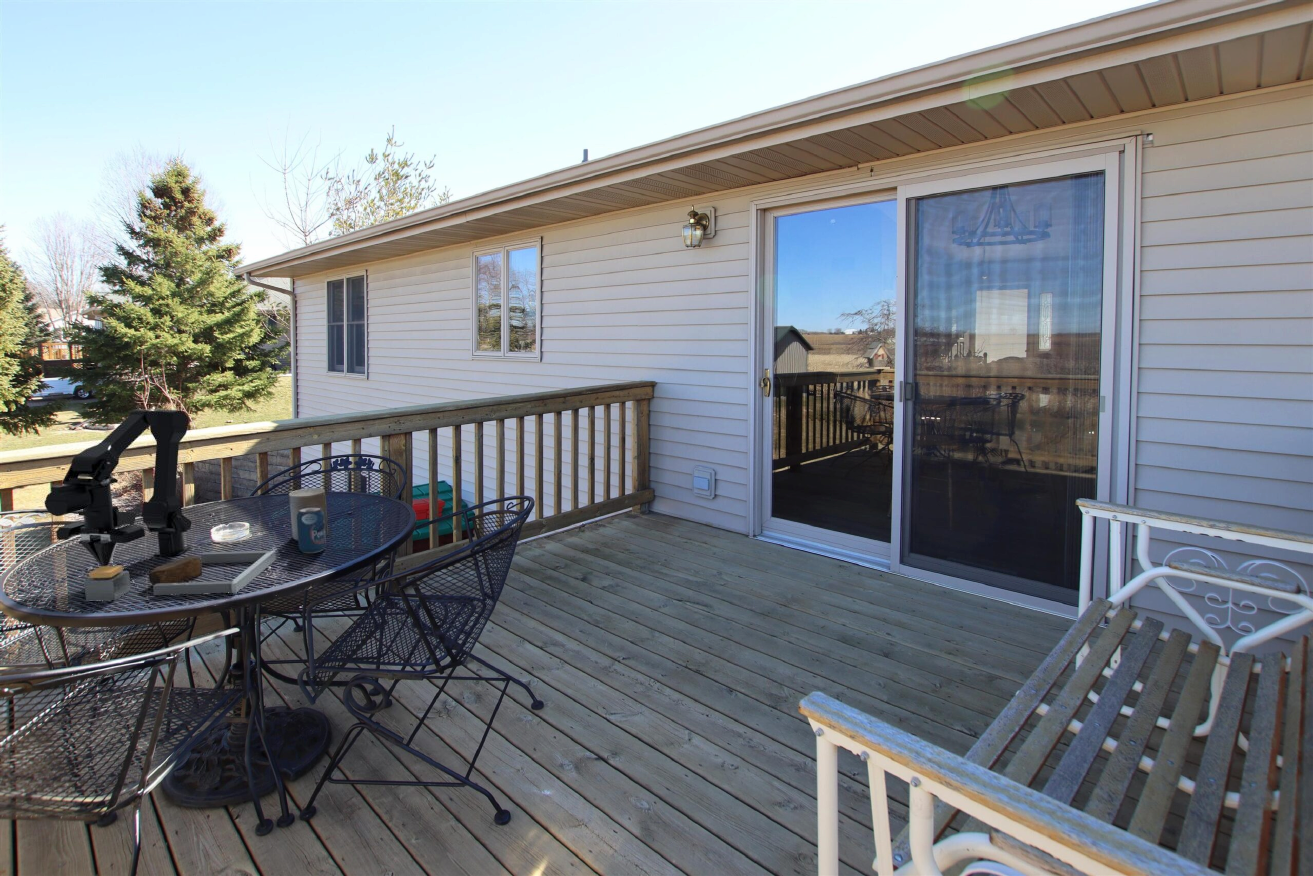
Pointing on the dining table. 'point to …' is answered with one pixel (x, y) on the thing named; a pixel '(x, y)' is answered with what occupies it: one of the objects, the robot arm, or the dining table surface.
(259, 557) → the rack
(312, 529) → the soda can
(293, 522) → the pillar candle
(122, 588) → the box
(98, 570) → the button
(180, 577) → the brown wedge block
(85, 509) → the robot arm
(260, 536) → the dining table surface
